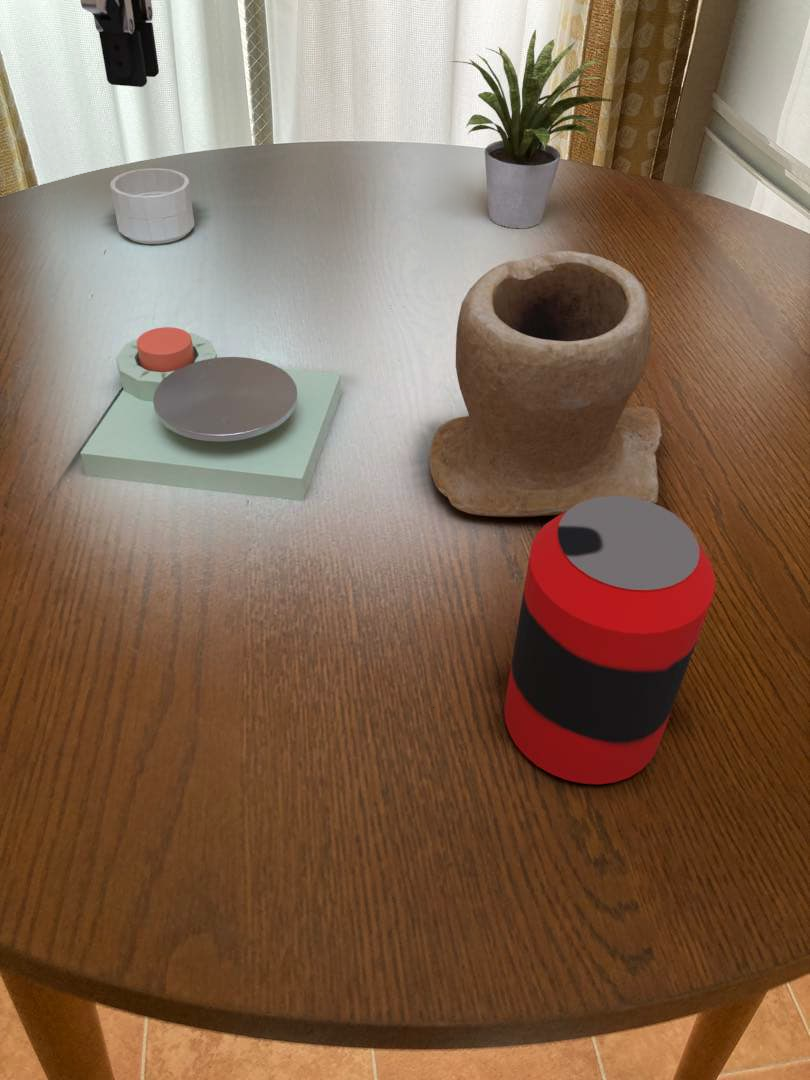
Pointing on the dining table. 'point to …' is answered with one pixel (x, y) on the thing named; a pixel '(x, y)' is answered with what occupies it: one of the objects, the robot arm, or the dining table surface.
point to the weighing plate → (225, 399)
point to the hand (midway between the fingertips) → (133, 77)
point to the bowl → (153, 205)
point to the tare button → (165, 349)
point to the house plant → (526, 136)
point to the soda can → (605, 637)
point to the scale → (224, 466)
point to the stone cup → (549, 390)
